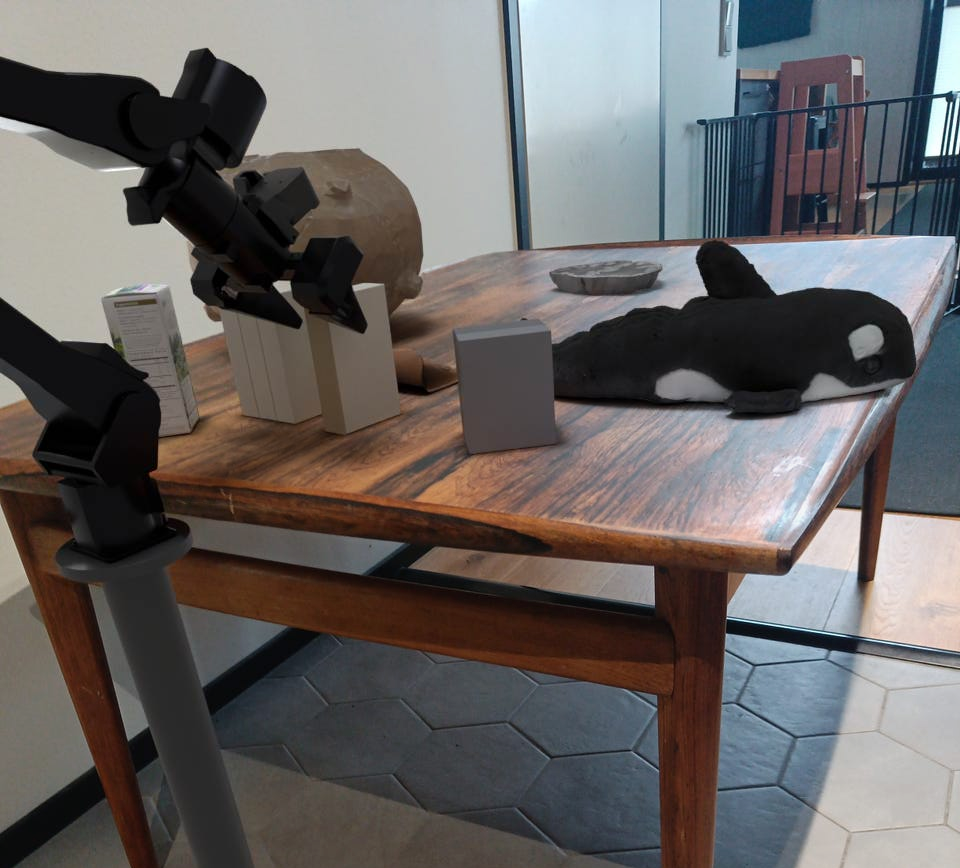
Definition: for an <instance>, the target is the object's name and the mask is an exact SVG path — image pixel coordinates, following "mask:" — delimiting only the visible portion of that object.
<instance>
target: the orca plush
mask: <svg viewBox="0 0 960 868" xmlns="http://www.w3.org/2000/svg"><path fill="white" fill-rule="evenodd" d="M695 264H696V265H697V269H698V271H699V276H700V277H701V280H702V284H703V286H704V289H705V291H706V295H699V296H694V297H692V298H690V299H689V300H687V302H686V303H685V304H683V306H682V307H681V308H677V307H671V306H668V305H666V304H665V305H663V304H661V305H656V306H653V307H633V309H631V310H628V311H627V313H625V314H624V315H623V314H622V315H619V316H616V317H613V318H610V319H607V320H602V321H600V322H597V323H595V324H594V325H592V326H591V327H590V329H589V330H582V331H577V332H575V333H574V334H573V335H570V336H567V337H565V338H564V339H563V340H562V341H560V342H556V343H552V361H553V383H554V396H559V397H570V398H587V399H592V398H593V399H594V398H595V399H596V398H608V399H614V398H620V399H631V400H644V401H648V402H650V403H652V404H659V405H660V404H661V405H662V404H667V405H669V404H680V403H685V402H709V403H724V407H725V408H726V409H730V410H732V411H734V412H736V413H740V414H743V413H756V414H757V413H758V414H777V413H787V412H794V411H795V410H798V409H800V408H801V404H802V403H805V402H814V401H815V402H816V401H821V400H828V399H834V398H842V397H847V396H854V395H860V394H861V395H862V394H867V393H871V392H876V391H880V390H884V389H889V388H893V387H897V386H899V385H901V384H904V383H907V382H908V380H909V378H912V376H914V374H915V372H916V369H917V355H916V350H915V349H916V348H915V340H914V334H913V330H912V327H911V324H910V321H909V318H908V316H907V315H905V314H904V313H903V311H902V310H901V308H899V307H898V306H896V305H895V304H894V303H892V302H891V301H888V300H887V299H884V298H882V297H880V296H878V295H877V294H874V293H872V292H870V291H864V290H858V289H850V288H826V287H820V286H818V287H817V286H815V287H806V288H804V289H800V290H795V291H794V290H793V291H789V292H786V293H782V294H777V293H776V292H775V291H774V290H773V289H772V288H771V286H770V284H769V283H768V282H767V281H766V280H765V279H764V277H763V275H762V274H759V273H758V271H757V269H756V266H755V265H754V264H753V263H750V261H749V259H748V258H747V257H746V255H744V254H743V253H742V252H741V251H740V249H738V248H737V247H735V246H732V245H730V244H729V243H727V242H725V241H724V240H718V239H713V240H707V241H704V243H702V244H701V245H700V246H699V248H698V250H696V255H695ZM521 320H529V319H528V318H526V317H521V319H519V321H521Z"/></svg>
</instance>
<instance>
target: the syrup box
mask: <svg viewBox="0 0 960 868" xmlns="http://www.w3.org/2000/svg"><path fill="white" fill-rule="evenodd" d="M170 287H171V286H170V285H168V284H160V283H159V284H156V283H149V284H148V283H147V284H134V285H128V286H124V287H119V288H116V289H113V290H112V291H110V292H109V293H107V294H105V295H104V296H102V297H101V298H100V299H101V300H100V301H101V304H102V309H103V312H104V316H105V320H106V323H107V328H108V331H109V335H110V339H111V342H112V346H113V348H114V349H115V350H116V351H117V352H118V353H119V354H120V355H121V356H122V357H123V358H124V359H125V361H126V362H128V363H129V364H130V365H131V366H132V367H134V368H136V369H137V370H140V371H143V372H147V373H148V374H149V377H148V378H146V379H144V380H143V381H145V382H147V383H148V384H149V385H150V386H151V387H152V388H153V389H154V390H155V391H156V392H157V394H158V396H159V398H160V409H161V426H160V429H159V438H160V437H161V438H162V437H168V436H176V435H182V434H183V435H184V434H191V432H193V430H194V428H195V427H196V425H197V424H198V421H199V420H200V418H201V417H200V412H199V408H198V403H197V399H196V396H195V395H196V394H195V391H194V387H193V386H194V385H193V382H192V378H191V374H190V369H189V364H188V360H187V357H186V356H187V355H186V352H185V348H184V344H183V339H182V335H181V331H180V326H179V322H178V318H177V313H176V309H175V305H174V300H173V296H172V292H171V288H170Z"/></svg>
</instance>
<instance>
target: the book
mask: <svg viewBox="0 0 960 868" xmlns="http://www.w3.org/2000/svg"><path fill="white" fill-rule="evenodd" d="M352 287H353V290H354V293H355V295H356V298H357V300H358V303H359V305H360V307H361V310H362V312H363V314H364V317H365V319H366V321H367V324H368V326H367V329H366V331H365V333H364V334H359V333H356V332H353V331H350V330H348V329H345V328H343V327H340V326H338V325H335V324H333V323H330V322H328V321H325V320H322V319H320V318H317V317H315V316H312V315H310V314H308V312H309V310H308V309H306V308H304V312H305V318H306V324H307V329H308V335H309V341H310V347H311V352H312V358H313V364H314V369H315V375H316V381H317V387H318V392H319V398H320V404H321V409H322V414H321V415H322V420H323V421H322V422H323V426H324V431H325V432H326V433H333V434H337V435H342V436H346V435H348V434H350V433H353V432H356V431H359V430H361V429H364V428H366V427H369V426H372V425H374V424H378V423H380V422H383V421H385V420H388V419H391V418H393V417H396V416H399V415H401V414H402V411H401V402H400V395H399V388H398V383H397V379H396V372H395V364H394V356H393V349H394V348H393V342H392V341H393V340H392V333H391V326H390V320H389V318H390V317H388V310H387V302H386V295H385V287H384V284H375V283H362V284H358V285H353V286H352Z"/></svg>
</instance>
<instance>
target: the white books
mask: <svg viewBox="0 0 960 868" xmlns="http://www.w3.org/2000/svg"><path fill="white" fill-rule="evenodd" d="M273 285H274V287H275V288H276V289H277V290H278V291H279V292H280V293H281V295H282V296H283V297H284V298H285V299H286V300H287V301H288V302H289V304H290V305H291V306H292V307H293V308H294V309H295V311H296V312H297V313H298V314H299V316H300V317H301V318H302V320H303V322H302V325H301V327H300V329H293V328H290V327H286V326H283V325H279V324H275V323H272V322H268V321H265V320H261V319H257V318H254V317H250V316H246V315H242V314H239V313H235V312H231V311H227V310H222V309H220V308H219V311H220V316H221V320H222V321H221V325H222V329H223V334H224V337H225V343H226V346H227V352H228V355H229V360H230V364H231V368H232V374H233V379H234V383H235V387H236V391H237V395H238V401H239V406H240V410H241V414H242V416H245V417H252V418H257V419H263V420H269V421H276V422H282V423H287V424H293V425H296V424H299V423H302V422H304V421H308V420H311V419H312V418H315V417H317V416H320V415H322V409H321V404H320V398H319V392H318V387H317V381H316V375H315V369H314V364H313V358H312V352H311V347H310V341H309V335H308V329H307V324H306V318H305V312H304V307H302V306H300V305H299V304H298V303H297V302H296V301H295V300H294V299H293V297H292V291H291V286H290V281H277V282H274V283H273Z"/></svg>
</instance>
